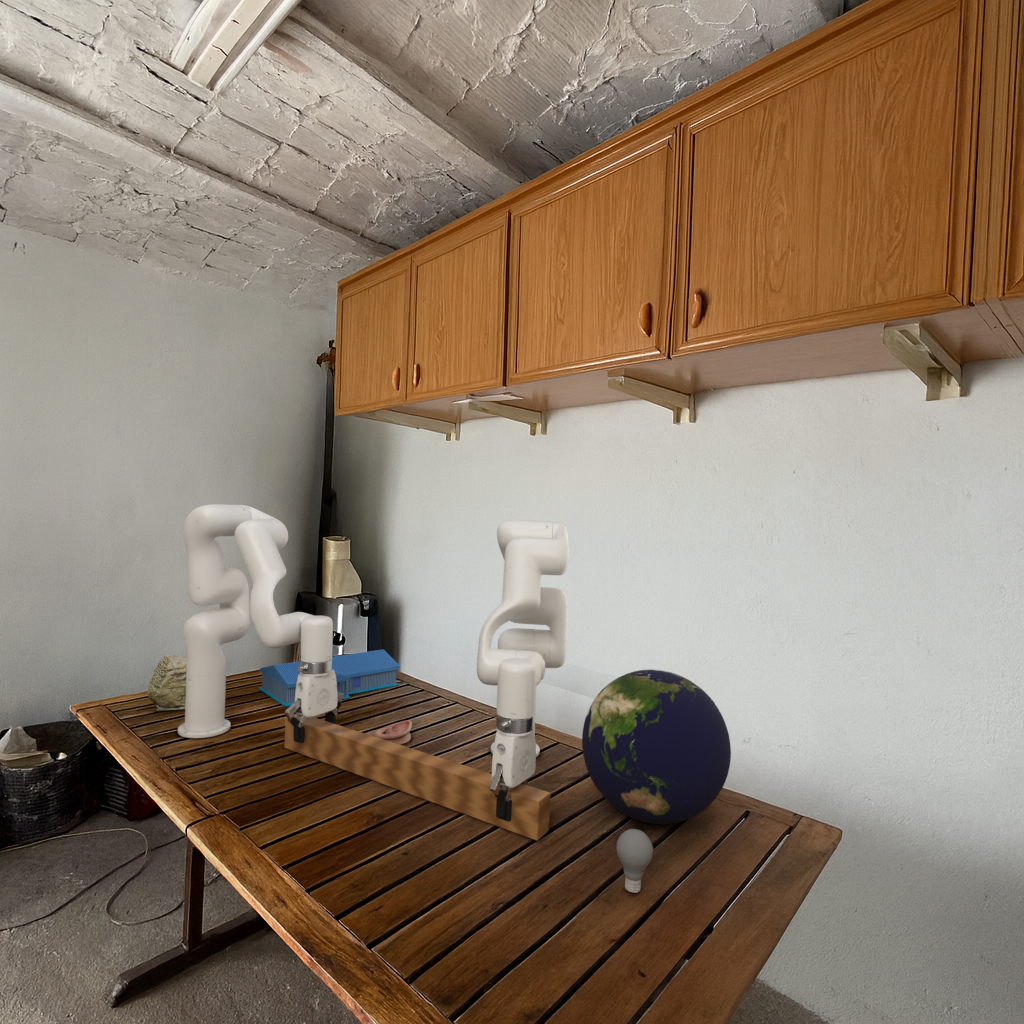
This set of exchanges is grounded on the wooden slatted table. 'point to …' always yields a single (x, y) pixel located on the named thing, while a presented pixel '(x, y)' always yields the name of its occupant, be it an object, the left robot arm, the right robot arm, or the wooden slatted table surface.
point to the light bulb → (634, 857)
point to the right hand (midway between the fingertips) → (510, 812)
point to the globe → (656, 746)
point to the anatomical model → (394, 732)
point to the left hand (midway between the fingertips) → (314, 735)
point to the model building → (349, 670)
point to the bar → (422, 775)
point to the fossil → (169, 683)
